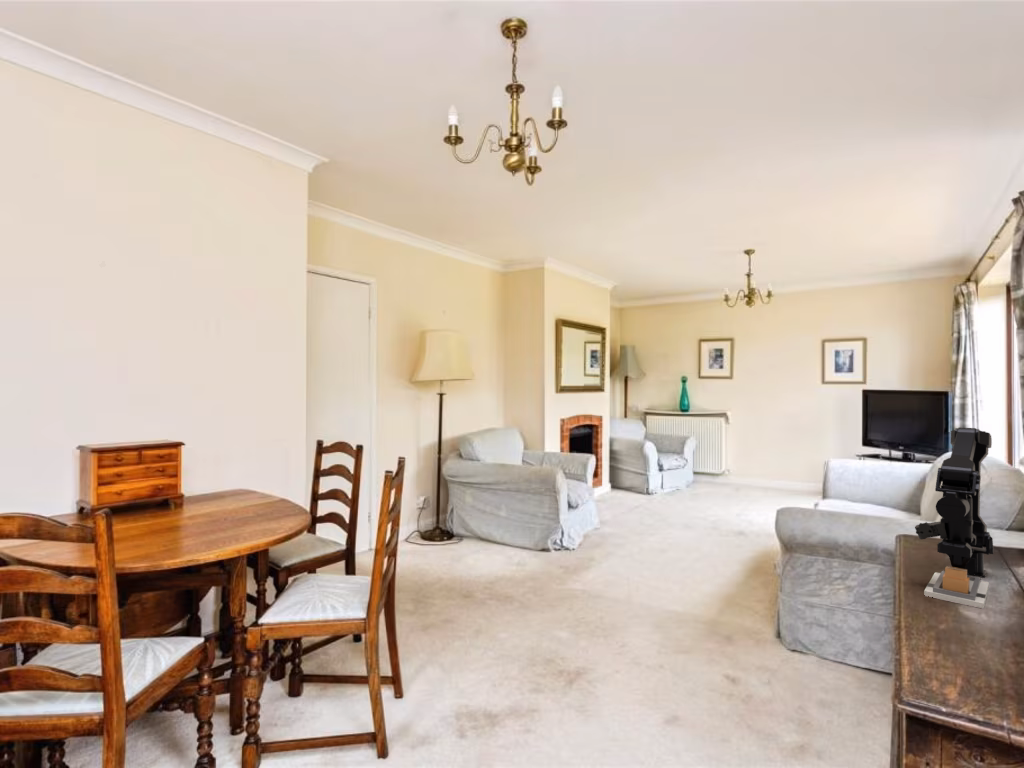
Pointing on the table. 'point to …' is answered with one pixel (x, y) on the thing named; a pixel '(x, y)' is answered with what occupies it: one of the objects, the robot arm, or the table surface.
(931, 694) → the table surface
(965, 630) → the table surface
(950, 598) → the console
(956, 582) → the fader knob
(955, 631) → the table surface
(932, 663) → the table surface
